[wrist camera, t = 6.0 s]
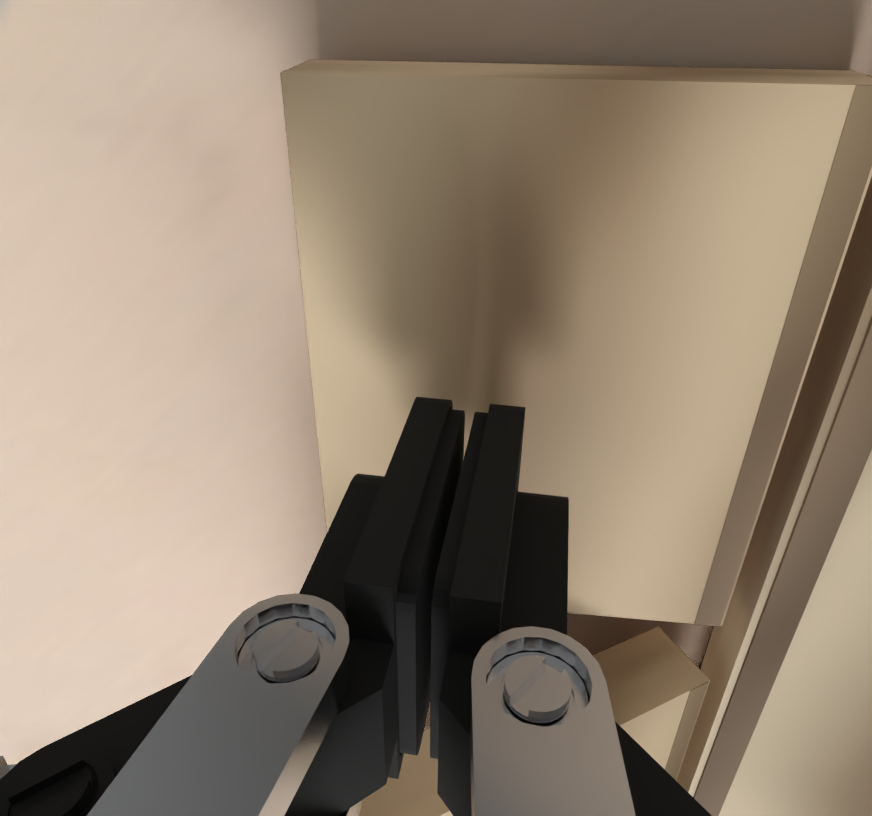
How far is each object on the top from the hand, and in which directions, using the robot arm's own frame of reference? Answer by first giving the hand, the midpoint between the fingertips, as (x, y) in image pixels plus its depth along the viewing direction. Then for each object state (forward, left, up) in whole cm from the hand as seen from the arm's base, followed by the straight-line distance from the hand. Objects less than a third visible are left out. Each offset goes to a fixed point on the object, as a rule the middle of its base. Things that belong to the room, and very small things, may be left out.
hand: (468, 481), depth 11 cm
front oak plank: (-1, -1, -3) cm, 3 cm away
